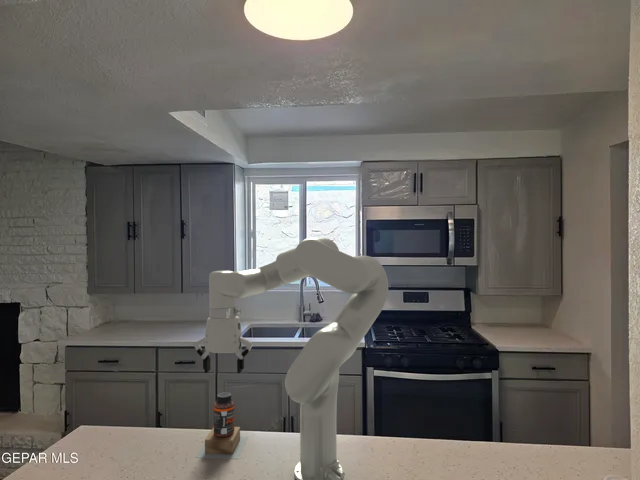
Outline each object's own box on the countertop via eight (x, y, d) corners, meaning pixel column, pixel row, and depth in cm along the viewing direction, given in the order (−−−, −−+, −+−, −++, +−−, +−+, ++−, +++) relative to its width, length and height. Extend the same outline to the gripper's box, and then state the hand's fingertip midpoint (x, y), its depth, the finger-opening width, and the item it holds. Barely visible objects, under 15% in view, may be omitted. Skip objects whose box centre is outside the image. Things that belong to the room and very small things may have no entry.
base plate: (248, 440, 121) (248, 437, 121) (237, 462, 109) (237, 458, 109) (209, 439, 122) (209, 435, 122) (195, 461, 110) (195, 457, 110)
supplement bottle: (229, 439, 112) (229, 399, 112) (209, 437, 113) (209, 397, 113) (237, 429, 118) (237, 391, 118) (219, 427, 119) (219, 389, 119)
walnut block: (240, 440, 119) (240, 426, 119) (232, 454, 111) (232, 440, 111) (214, 439, 120) (214, 426, 120) (204, 453, 112) (204, 439, 112)
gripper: (254, 310, 118) (255, 367, 118) (198, 310, 119) (199, 367, 119) (248, 315, 111) (249, 376, 111) (188, 315, 112) (189, 375, 112)
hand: (223, 371), depth 115 cm, fingers open, 9 cm apart
